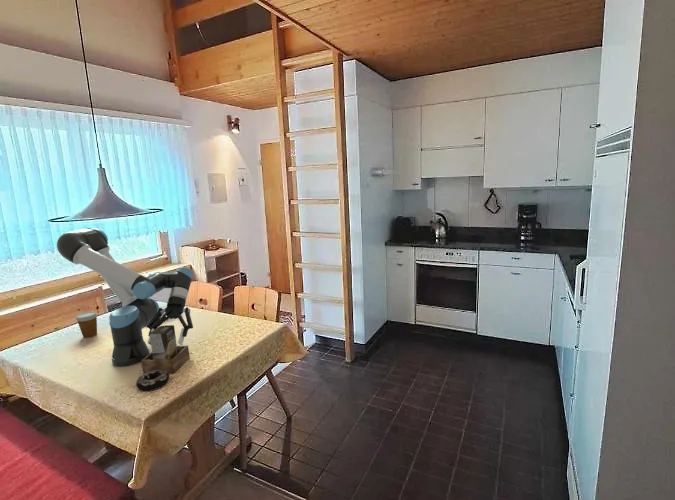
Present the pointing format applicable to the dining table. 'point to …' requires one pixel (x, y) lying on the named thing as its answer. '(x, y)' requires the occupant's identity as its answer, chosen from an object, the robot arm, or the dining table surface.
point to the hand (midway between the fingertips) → (164, 344)
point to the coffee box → (163, 343)
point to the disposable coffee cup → (88, 324)
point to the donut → (152, 380)
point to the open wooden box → (166, 362)
